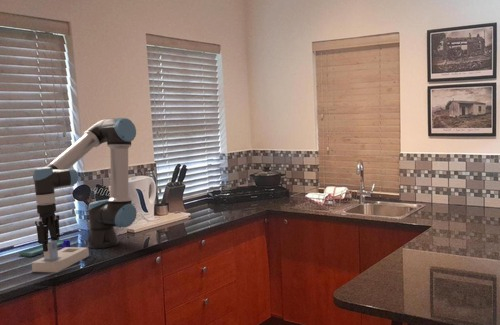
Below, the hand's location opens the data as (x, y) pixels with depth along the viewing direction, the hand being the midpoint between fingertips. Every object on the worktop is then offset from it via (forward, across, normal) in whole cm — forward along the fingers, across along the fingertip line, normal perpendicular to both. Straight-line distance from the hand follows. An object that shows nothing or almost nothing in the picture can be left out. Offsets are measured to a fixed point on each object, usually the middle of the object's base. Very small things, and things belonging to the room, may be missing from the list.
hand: (51, 256), depth 211 cm
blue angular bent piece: (+7, -24, -14) cm, 28 cm away
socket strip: (+6, -7, 0) cm, 9 cm away
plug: (+5, 0, 0) cm, 5 cm away
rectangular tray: (+7, -32, -27) cm, 42 cm away
